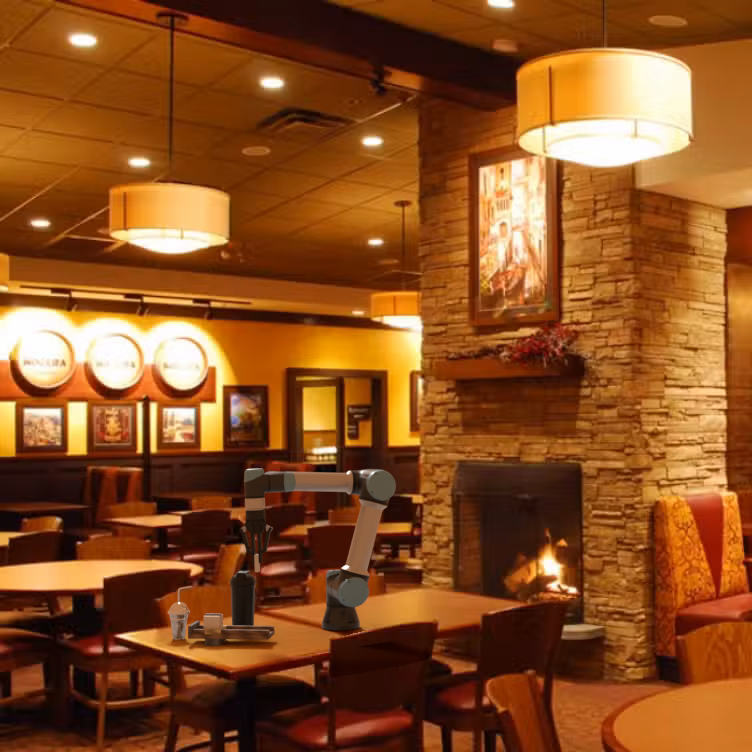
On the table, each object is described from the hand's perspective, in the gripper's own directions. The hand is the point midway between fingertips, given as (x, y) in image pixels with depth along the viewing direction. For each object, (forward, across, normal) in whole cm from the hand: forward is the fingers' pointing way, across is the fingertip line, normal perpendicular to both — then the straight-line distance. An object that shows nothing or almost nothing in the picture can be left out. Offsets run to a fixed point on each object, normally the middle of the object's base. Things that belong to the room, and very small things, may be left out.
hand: (257, 571), depth 423 cm
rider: (+21, +16, +8) cm, 27 cm away
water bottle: (+26, +10, -19) cm, 33 cm away
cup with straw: (+25, +31, 0) cm, 39 cm away
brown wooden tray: (+25, +9, +8) cm, 28 cm away
